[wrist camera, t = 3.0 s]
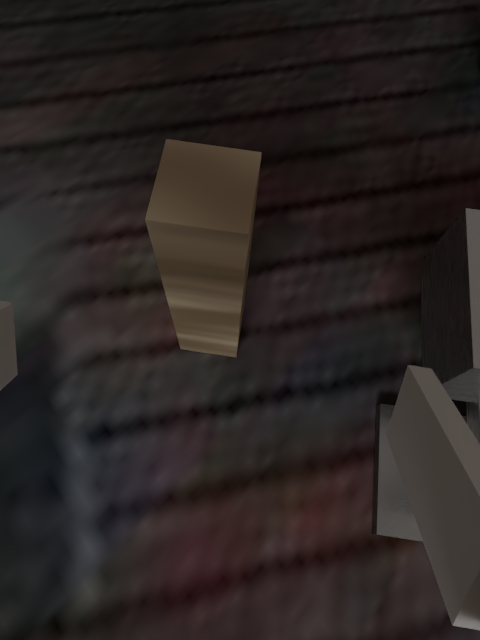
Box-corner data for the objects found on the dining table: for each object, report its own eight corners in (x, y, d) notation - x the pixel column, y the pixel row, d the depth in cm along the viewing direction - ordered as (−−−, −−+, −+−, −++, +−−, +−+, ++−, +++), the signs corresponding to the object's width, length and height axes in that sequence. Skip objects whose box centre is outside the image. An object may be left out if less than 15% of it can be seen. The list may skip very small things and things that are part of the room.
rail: (236, 357, 28) (248, 234, 15) (180, 348, 28) (144, 219, 15) (244, 306, 29) (261, 152, 16) (190, 298, 29) (166, 138, 16)
